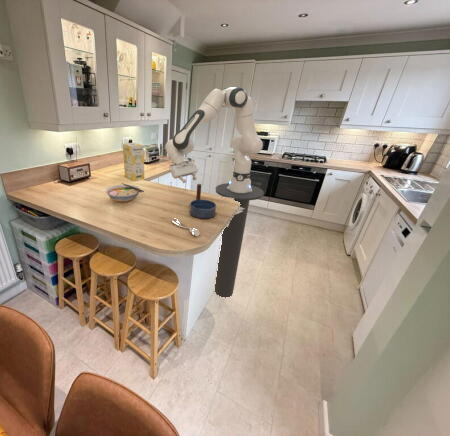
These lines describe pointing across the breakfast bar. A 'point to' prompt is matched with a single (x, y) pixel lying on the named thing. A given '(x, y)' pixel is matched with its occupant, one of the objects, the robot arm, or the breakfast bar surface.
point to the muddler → (198, 192)
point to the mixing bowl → (202, 208)
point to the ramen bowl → (123, 192)
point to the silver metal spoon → (192, 230)
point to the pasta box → (133, 161)
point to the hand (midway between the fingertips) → (190, 181)
